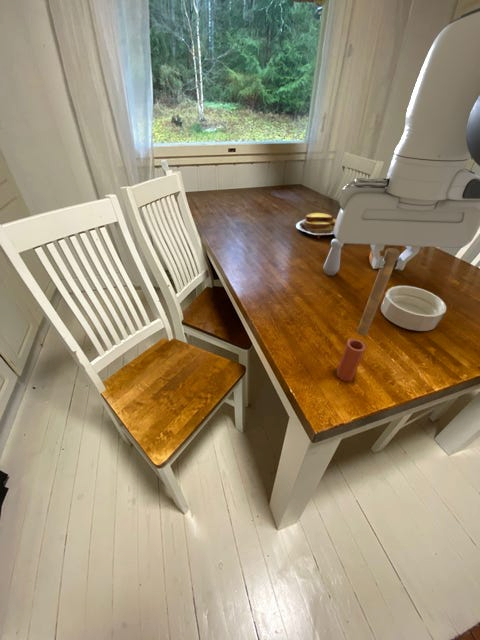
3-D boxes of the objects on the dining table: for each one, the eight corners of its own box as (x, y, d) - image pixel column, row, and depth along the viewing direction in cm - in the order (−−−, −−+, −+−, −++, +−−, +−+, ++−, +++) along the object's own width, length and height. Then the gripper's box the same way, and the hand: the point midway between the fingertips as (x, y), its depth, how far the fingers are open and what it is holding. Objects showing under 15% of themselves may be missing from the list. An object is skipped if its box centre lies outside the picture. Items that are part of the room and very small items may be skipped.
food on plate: (325, 244, 124) (328, 230, 120) (285, 228, 139) (286, 215, 135) (356, 231, 137) (359, 217, 133) (316, 218, 152) (318, 206, 148)
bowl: (439, 312, 85) (448, 296, 81) (433, 340, 75) (443, 323, 71) (386, 296, 91) (392, 280, 88) (374, 319, 81) (380, 303, 78)
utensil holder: (355, 373, 65) (367, 343, 59) (350, 384, 63) (362, 353, 56) (339, 366, 67) (350, 336, 61) (334, 376, 64) (344, 346, 58)
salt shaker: (339, 276, 101) (348, 243, 93) (324, 276, 101) (331, 243, 93) (335, 269, 106) (343, 236, 98) (320, 268, 106) (328, 236, 98)
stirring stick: (368, 331, 56) (400, 250, 45) (365, 336, 55) (398, 254, 44) (358, 328, 57) (388, 247, 46) (355, 333, 56) (385, 251, 45)
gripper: (350, 182, 37) (328, 273, 45) (511, 186, 35) (457, 280, 44) (340, 173, 41) (322, 257, 50) (482, 176, 40) (438, 262, 49)
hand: (386, 267), depth 47 cm, fingers closed on stirring stick, 2 cm apart
